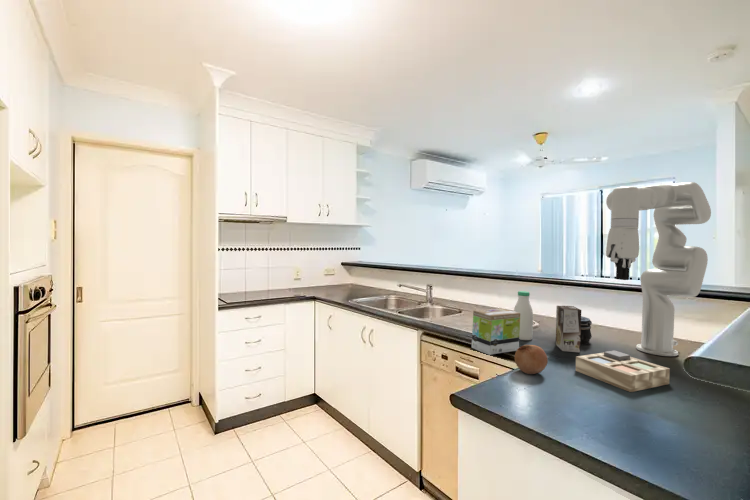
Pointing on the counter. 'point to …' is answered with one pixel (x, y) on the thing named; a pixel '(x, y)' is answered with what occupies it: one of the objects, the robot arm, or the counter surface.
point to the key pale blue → (601, 360)
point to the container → (585, 331)
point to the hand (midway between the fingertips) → (622, 279)
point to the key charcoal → (617, 355)
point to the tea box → (495, 331)
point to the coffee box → (568, 328)
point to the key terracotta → (625, 369)
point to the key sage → (642, 366)
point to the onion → (531, 359)
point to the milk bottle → (524, 315)
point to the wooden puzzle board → (623, 372)
